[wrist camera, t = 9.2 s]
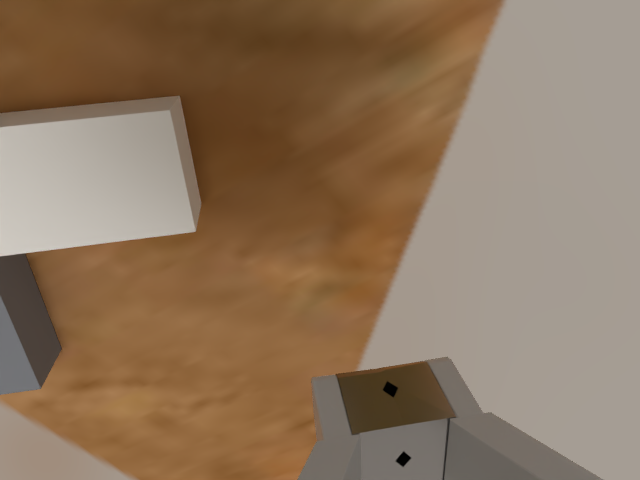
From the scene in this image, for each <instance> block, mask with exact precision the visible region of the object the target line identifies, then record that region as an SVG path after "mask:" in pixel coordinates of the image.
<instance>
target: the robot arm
mask: <svg viewBox="0 0 640 480" xmlns="http://www.w3.org/2000/svg"><path fill="white" fill-rule="evenodd" d="M311 384H312V396H313V408H314V419H315V428H316V436H317V442H316V443H315V445H314V447H313V449H312V451H311V453H310V455H309V457H308V459H307V462H306V464H305V466H304V468H303V470H302V472H301V474H300V476H299V478H298V480H603V479H601V478H600V477H598V476H596V475H595V474H593V473H591V472H589V471H588V470H586V469H584V468H583V467H581V466H579V465H577V464H576V463H574V462H573V461H571V460H569V459H568V458H566V457H564V456H563V455H561V454H559V453H558V452H556V451H554V450H553V449H551V448H549V447H548V446H546V445H544V444H543V443H541V442H539V441H538V440H536V439H534V438H532V437H531V436H529V435H527V434H526V433H524V432H522V431H521V430H519V429H517V428H516V427H514V426H512V425H511V424H509V423H507V422H506V421H504V420H502V419H501V418H499V417H497V416H496V415H494V414H492V413H483V412H482V410H481V408H480V407H479V405H478V403H477V402H476V400H475V398H474V397H473V395H472V393H471V392H470V390H469V389H468V387H467V385H466V384H465V382H464V380H463V379H462V377H461V375H460V374H459V372H458V370H457V369H456V367H455V365H454V364H453V362H452V360H451V359H449V358H448V357H443V358H438V359H431V360H426V361H420V362H414V363H408V364H402V365H396V366H389V367H383V368H378V369H370V370H362V371H355V372H347V373H339V374H336V375H328V376H320V377H312V380H311Z"/></svg>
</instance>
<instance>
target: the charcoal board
mask: <svg viewBox="0 0 640 480" xmlns="http://www.w3.org/2000/svg"><path fill="white" fill-rule="evenodd" d="M60 351H61V346H60V343H59V341H58V338H57V336H56V333H55V330H54V328H53V325H52V323H51V320H50V317H49V315H48V312H47V310H46V307H45V304H44V302H43V299H42V297H41V294H40V291H39V289H38V286H37V284H36V281H35V278H34V276H33V273H32V271H31V268H30V266H29V263H28V260H27V258H26V255H25V253H23V254H15V255H7V256H0V395H1V394H8V393H15V392H22V391H29V390H37V389H41V387H42V385H43V384H44V382H45V380H46V378H47V376H48V374H49V372H50V370H51V368H52V366H53V364H54V363H55V361H56V359H57V357H58V355H59V353H60Z"/></svg>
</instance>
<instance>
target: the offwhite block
mask: <svg viewBox="0 0 640 480" xmlns="http://www.w3.org/2000/svg"><path fill="white" fill-rule="evenodd" d="M200 208H201V199H200V194H199V189H198V184H197V179H196V174H195V169H194V164H193V159H192V154H191V149H190V144H189V139H188V134H187V129H186V124H185V119H184V114H183V109H182V104H181V99H180V96H170V97H160V98H150V99H140V100H129V101H119V102H109V103H99V104H89V105H78V106H68V107H58V108H48V109H38V110H27V111H17V112H7V113H0V256H7V255H15V254H23V253H31V252H39V251H47V250H54V249H62V248H70V247H78V246H86V245H94V244H102V243H110V242H118V241H126V240H134V239H142V238H150V237H158V236H166V235H174V234H182V233H190V232H196V228H197V223H198V218H199V213H200Z"/></svg>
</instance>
